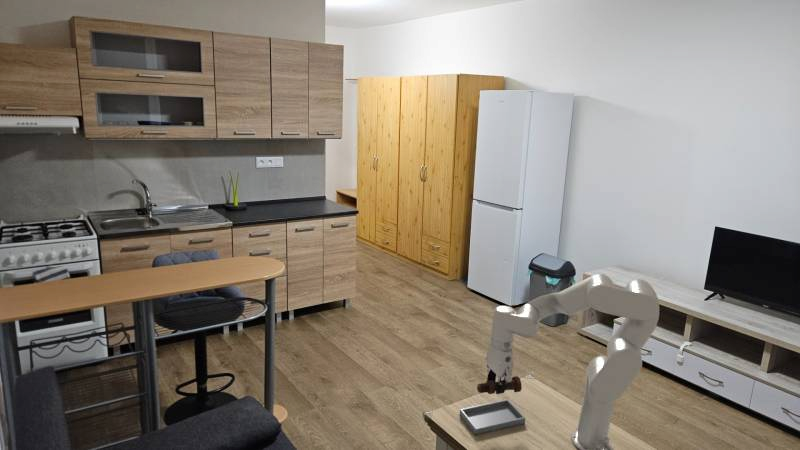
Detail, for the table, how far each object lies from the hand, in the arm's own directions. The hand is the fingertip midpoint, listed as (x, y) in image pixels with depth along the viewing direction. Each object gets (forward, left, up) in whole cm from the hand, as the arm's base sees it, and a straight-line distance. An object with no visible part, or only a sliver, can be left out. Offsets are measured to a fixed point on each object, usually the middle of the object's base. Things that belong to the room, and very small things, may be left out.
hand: (495, 387), depth 183 cm
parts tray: (0, 0, -13) cm, 13 cm away
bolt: (+1, -1, -2) cm, 2 cm away
